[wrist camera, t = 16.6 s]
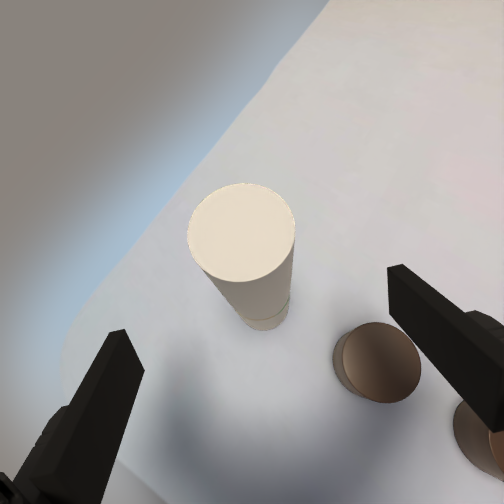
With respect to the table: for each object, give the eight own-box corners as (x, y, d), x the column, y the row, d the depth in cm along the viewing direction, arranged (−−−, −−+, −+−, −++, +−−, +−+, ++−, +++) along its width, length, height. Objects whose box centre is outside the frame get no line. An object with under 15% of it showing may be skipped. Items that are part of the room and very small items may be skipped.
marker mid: (349, 407, 22) (363, 415, 19) (322, 341, 24) (329, 336, 21) (412, 384, 23) (437, 387, 19) (380, 320, 24) (397, 311, 21)
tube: (252, 339, 25) (214, 302, 11) (230, 294, 26) (171, 212, 12) (298, 315, 25) (316, 248, 11) (273, 272, 27) (262, 167, 13)
